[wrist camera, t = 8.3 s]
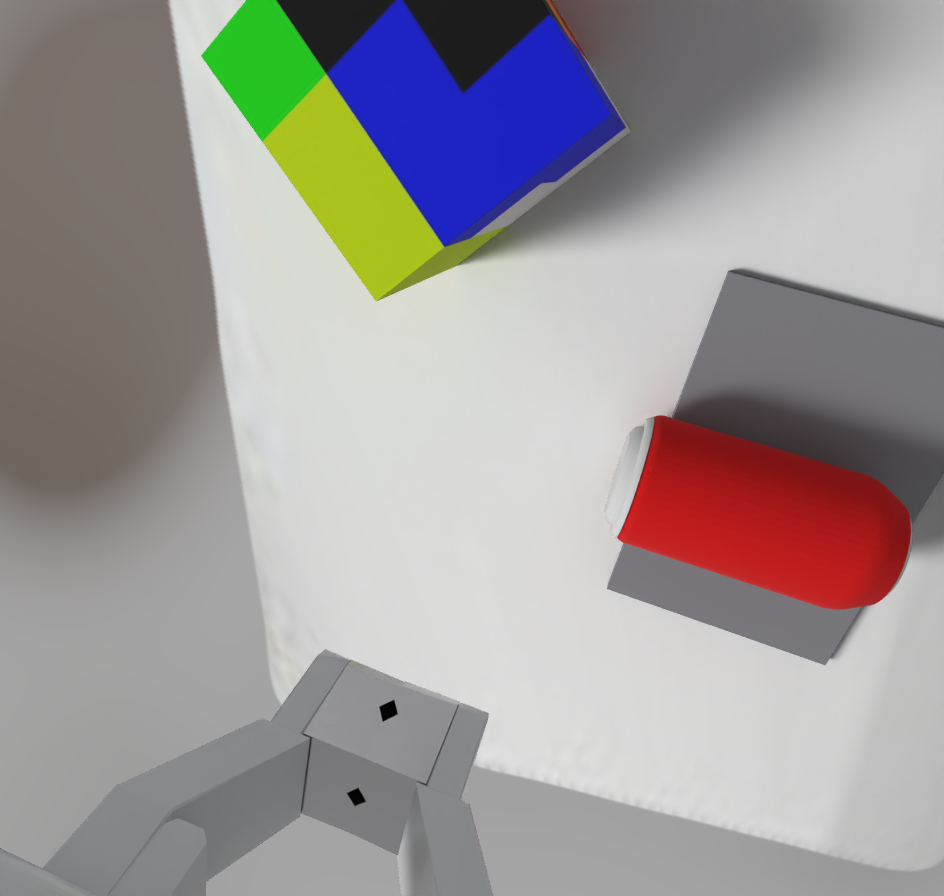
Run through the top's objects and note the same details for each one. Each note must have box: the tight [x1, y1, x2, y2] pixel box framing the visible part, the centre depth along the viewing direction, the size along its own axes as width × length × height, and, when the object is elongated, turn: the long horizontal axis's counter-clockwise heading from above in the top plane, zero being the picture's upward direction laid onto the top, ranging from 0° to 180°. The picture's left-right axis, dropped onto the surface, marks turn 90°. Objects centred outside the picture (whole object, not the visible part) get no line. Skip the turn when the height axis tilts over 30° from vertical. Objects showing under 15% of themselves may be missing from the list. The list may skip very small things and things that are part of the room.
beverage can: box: [604, 416, 913, 610], centre depth 30 cm, size 6×6×12 cm
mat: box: [607, 271, 944, 665], centre depth 32 cm, size 18×12×1 cm, turn 167°
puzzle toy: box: [201, 0, 631, 301], centre depth 25 cm, size 10×10×10 cm
